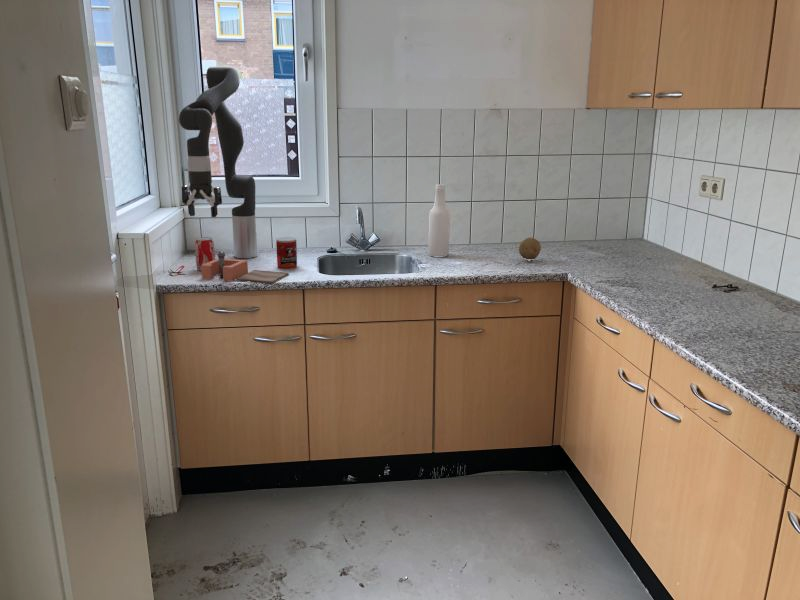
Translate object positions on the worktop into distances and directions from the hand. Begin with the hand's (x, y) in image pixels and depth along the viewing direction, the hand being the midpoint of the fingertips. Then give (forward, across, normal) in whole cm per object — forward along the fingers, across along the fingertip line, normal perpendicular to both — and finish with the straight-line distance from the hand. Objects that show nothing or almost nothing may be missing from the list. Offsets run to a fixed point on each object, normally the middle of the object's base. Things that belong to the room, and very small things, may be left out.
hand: (203, 216), depth 230 cm
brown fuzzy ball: (+24, -108, -68) cm, 129 cm away
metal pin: (+23, -4, -4) cm, 23 cm away
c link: (+23, -4, -6) cm, 24 cm away
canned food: (+23, -18, -27) cm, 40 cm away
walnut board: (+23, -18, -8) cm, 30 cm away
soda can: (+23, +8, -13) cm, 28 cm away
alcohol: (+24, -70, -67) cm, 99 cm away
